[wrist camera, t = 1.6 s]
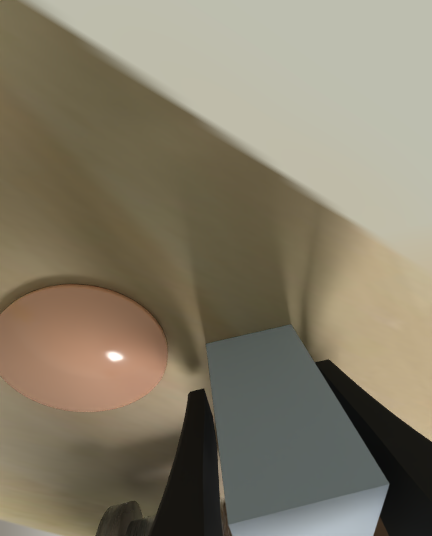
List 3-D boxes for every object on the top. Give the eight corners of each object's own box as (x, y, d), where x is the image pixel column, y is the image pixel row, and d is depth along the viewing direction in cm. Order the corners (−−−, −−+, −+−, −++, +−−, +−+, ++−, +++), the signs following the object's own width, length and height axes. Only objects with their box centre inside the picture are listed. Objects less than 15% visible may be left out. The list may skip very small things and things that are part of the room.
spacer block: (293, 381, 13) (370, 543, 8) (220, 398, 13) (247, 575, 8) (291, 323, 11) (389, 483, 6) (205, 343, 11) (228, 524, 6)
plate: (183, 387, 12) (183, 392, 12) (46, 419, 12) (43, 425, 12) (140, 266, 9) (138, 270, 9) (-48, 307, 9) (-54, 311, 9)
